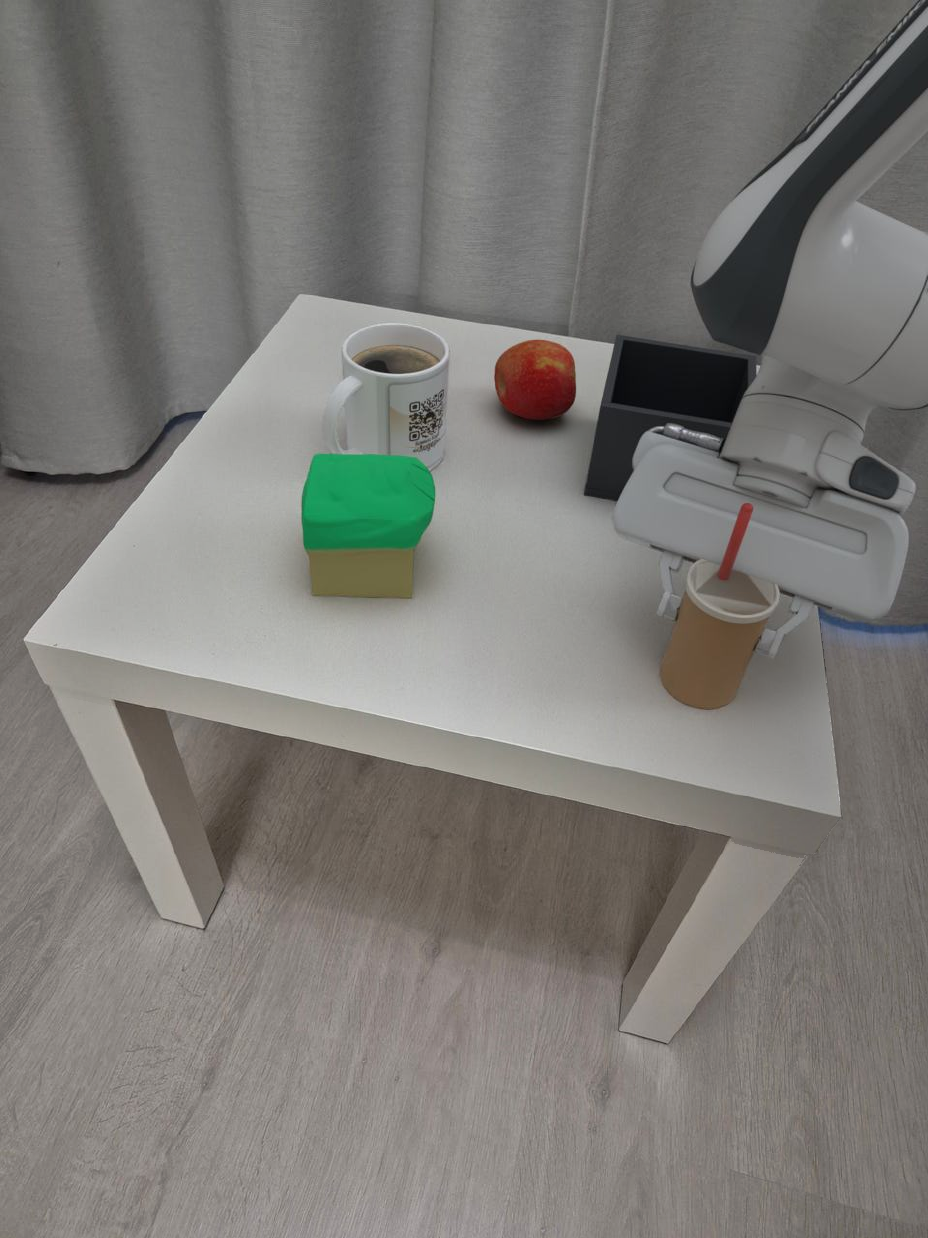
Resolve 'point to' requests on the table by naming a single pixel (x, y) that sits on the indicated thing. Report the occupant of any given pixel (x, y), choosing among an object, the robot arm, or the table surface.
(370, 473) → the cake
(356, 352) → the mug
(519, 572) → the table surface
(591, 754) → the table surface
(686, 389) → the bin
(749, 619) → the paper cup
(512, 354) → the apple
